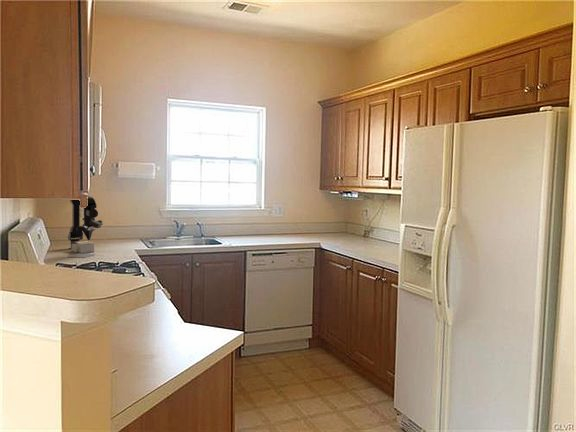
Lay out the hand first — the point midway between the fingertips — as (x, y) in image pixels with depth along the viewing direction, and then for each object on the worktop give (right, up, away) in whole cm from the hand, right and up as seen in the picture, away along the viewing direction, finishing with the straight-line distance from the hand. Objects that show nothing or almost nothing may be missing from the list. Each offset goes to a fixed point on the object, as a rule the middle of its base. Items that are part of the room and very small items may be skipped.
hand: (88, 240), depth 321 cm
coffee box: (-2, -6, +4) cm, 7 cm away
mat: (-1, -10, -9) cm, 13 cm away
